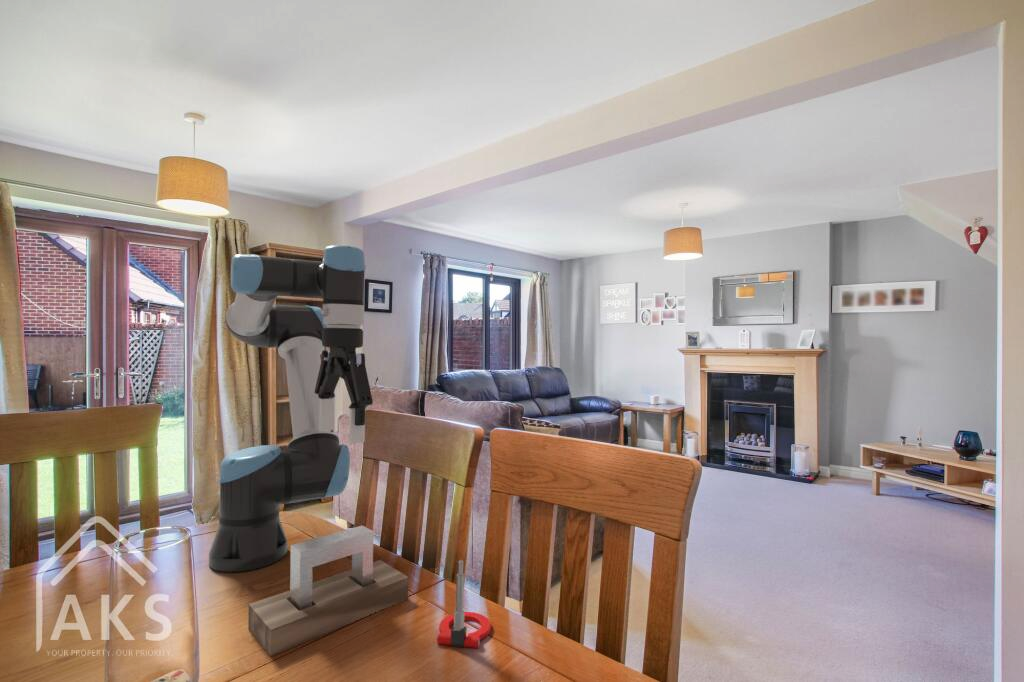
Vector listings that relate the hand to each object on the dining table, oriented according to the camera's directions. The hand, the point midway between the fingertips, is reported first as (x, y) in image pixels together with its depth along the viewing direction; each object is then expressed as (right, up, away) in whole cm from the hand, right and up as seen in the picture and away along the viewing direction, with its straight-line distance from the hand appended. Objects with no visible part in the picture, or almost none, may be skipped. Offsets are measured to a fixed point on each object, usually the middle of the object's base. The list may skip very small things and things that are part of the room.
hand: (340, 436), depth 96 cm
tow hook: (+25, -29, -15) cm, 42 cm away
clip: (+2, -29, -10) cm, 31 cm away
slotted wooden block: (+2, -29, -10) cm, 31 cm away
